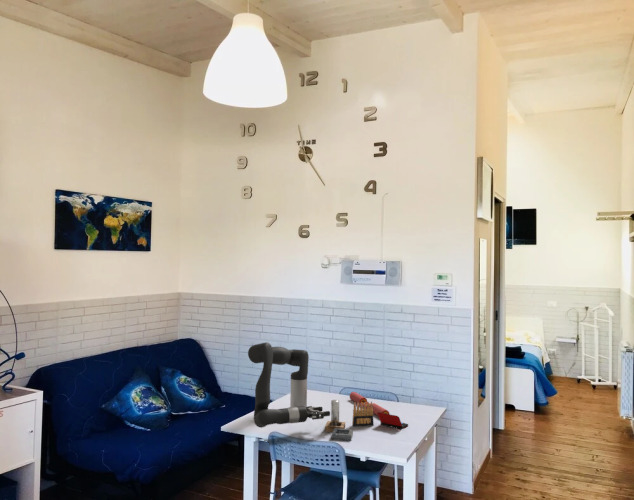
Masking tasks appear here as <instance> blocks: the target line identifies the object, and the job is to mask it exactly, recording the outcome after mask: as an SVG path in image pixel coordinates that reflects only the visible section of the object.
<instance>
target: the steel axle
mask: <svg viewBox="0 0 634 500" xmlns="http://www.w3.org/2000/svg"><path fill="white" fill-rule="evenodd" d="M330 402H331V403H330V405H331V406H330V421H331V426H339V422H340V400H339V399H338V400H337V399H332V400H331V401H330Z"/></svg>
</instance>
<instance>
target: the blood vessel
mask: <svg viewBox="0 0 634 500" xmlns="http://www.w3.org/2000/svg"><path fill="white" fill-rule="evenodd" d="M349 399H350V400H351V401H352V402H354V403H356V404H357V403H358V402H359V406H360V404H361V402H362V405H363V407H364V402H365V403H366V410H367V403H368V402H369V401H368V398H366V397H365V396H362V395H361V394H359V393H358V392H355V391H352V392H350V394H349ZM370 404H371V402H369V409H370ZM372 404H373V415H376V416H378V412H380V413H385V414H390V411H389V410H388V409H387V408H384V407H382V406H380V405H379V404H377V403H375V402H372ZM378 417H379V416H378Z"/></svg>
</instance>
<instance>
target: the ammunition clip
mask: <svg viewBox="0 0 634 500" xmlns="http://www.w3.org/2000/svg"><path fill="white" fill-rule="evenodd" d="M367 402H368V403H367V409H366V403H365V402H364V407H363V405H362V402H361V404H360V405H359V402H358V403H356V402H354V403H353V409H352V414H353V415H352V426H353V427H372V426H375V425H374V424H375V422H374V413H373V401H370V402H369V401H367ZM369 403H370V409H369Z"/></svg>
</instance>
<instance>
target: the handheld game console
mask: <svg viewBox="0 0 634 500" xmlns="http://www.w3.org/2000/svg"><path fill="white" fill-rule="evenodd" d="M378 419H379V421H380V425H381V426H384V427H385V426H386V427H390V426H392V427H391V428H394V427H395V428H394V429H398V428H399V430H403V429H405V428H408V427H409V423H405V422H401V418H400V417H399V416H398V415H394V414H390V413H389V414H385V413H380V412H378Z"/></svg>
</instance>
